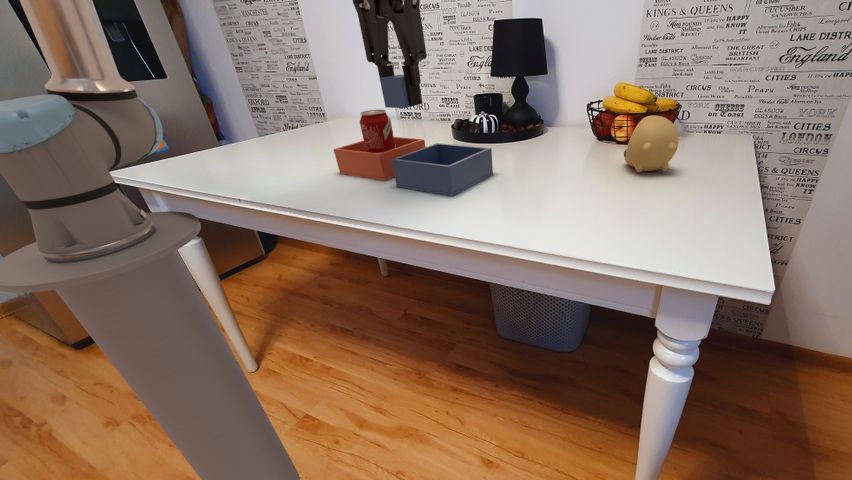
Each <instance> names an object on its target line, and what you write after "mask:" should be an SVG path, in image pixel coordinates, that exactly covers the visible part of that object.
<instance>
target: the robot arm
mask: <svg viewBox="0 0 852 480" xmlns="http://www.w3.org/2000/svg"><path fill="white" fill-rule="evenodd" d="M19 2H20V4H21V7H22V9H23V11H24V13H25V16H26V18H27V20H28V23H29V25H30V27H31V29H32V32H33V35H34V36H35V39H36V41H37V43H38V45H39V48H40V51H41V53H42V55H43V57H44V59H45V61H46V64H47V66H48V68H49V71H50V73H51V76H50V78H49V79H48V81H47V82H46V83H45V84H44V88H45V91H46V92H47V94H38V95H30V96H23V97H17V98H13V99H8V100H7V99H6V100H2V101H0V175H1V177H3V179H4V180H5V181H6V182H7V184H8V185H9V186H10V188H11V189H12V191H13V192H14V193H15V195H16V196H17V198H18V199H19V200H20V202H21V203H22V205H23V206H24V208H25V209H26V210H27V211H28V213H29V215H30V219H31V224H32V229H33V233H34V237H35V242H37V246H38V249H39V252H40V253H41V254H42V256H43V257H44V258H45V260H47V261H48V262H52V263H70V262H78V261H84V260H89V259H94V258H98V257H102V256H106V255H109V254H113V253H116V252H119V251H122V250H124V249H127V248H130V247H132V246H134V245H137V244H139V243H141V242H143V241H144V240H146V239H148V238H149V237H150V236H152V235H153V234H154V233H155V230H156V229H155V227H154V225H153V223H152V221H151V220H150V219H149V218H148V217H147V216H146V213H147V212H145V211H144V210H143V209H142V208H141V209H140V208H139V207H138V206H137V205H135V204H134V203H133V202H132V201H131V200H130V199H129V197H127V196H126V195H125V194H124V193H123V192H122V191H121V190H120V188H119V187H118V185H117V183H116V181H115V179H114V178H113V176H112V174H111V172H110V171H113V170H115V169H117V168H120V167H122V166H123V167H124V166H126V165H128V164H131V163H135V162H139V161H142V160H144V159H145V158H147V157H148V156H149V155H151V154H153V153H154V152H156V151H157V150H158V148H159V147H160V146H161V144H162V141H163V138H164V137H163V136H164V129H163V125H162V122H161V119H160V118H159V115H158V114H157V112H156V111H155V110H154V109H153V108H152V107H151V106H149V105H147V104H148V103H147V102H146V101H145V100H143V99H142V98H140V97H139V96H138V93H137V90H136V87H135V85H133V84H132V83H130V82H128V81H127V80H125V79H124V78H122V76H121V75H120V73H119V70H118V67H117V65H116V62H115V60H114V57H113V54H112V50H111V48H110V46H109V42H108V40H107V37H106V35H105V32H104V29H103V26H102V23H101V19H100V18H99V14H98V13H97V9H96V7H95V4H94V1H93V0H19ZM420 3H421V0H352V4H353V6H354V8H355V11H356V13H357V17H358V22H359V27H360V33H361V37H362V38H361V39H362V42H363V47H364V52H365V55H366V56H365V57H366V60H367V62H368V63H373V64H374V65H375V66H376V68H377V72H378V77H379V79H380V78H382V77H388V76H394V75H395V70H394V65H393V64H392V61H391V60H390V56H389V23H390V22H391V25H392V27H393V31H394V33H395V35H396V36H395V37H396V38H397V39H396V40H397V42H398V45H399V48H400V50H401V54H402V57H403V60H404V61H403V62H402V66H401V67H402V73H403V75H404V79H405V85H406V91H407V96H408V102H409V106H411V107H414V106H413V105H415V106H418V105H417V104H419V105H422V104H421V103H422V102H423V100H422V101H421V96H422V94H421V95H420V89H421V87H420V88H419V84H420V85H421V83H422V80H421V74H420V73H421V72H420V68H419V67H420V66H419V64H420V62H422V61H423V60H426V59H427V57H428V55H427V49H426V42H425V36H424V35H425V34H424V29H423V23H422V22H423V21H422V15H421V9H420V7H421V5H420Z"/></svg>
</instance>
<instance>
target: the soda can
mask: <svg viewBox="0 0 852 480" xmlns="http://www.w3.org/2000/svg"><path fill="white" fill-rule="evenodd" d="M359 125H360V131H361V134H362V138H363V140H364V144H365V148H366V152H370V153H378V154H380V153H383V152H386V151H388V150H391V149H394V148H396V146H395V141H394V137H395V136H394V131H393V126H392V125H393V124H392V119H391V117H390V116H389V115H388V114H387V110H386V109H369V110H363V111H361V112H360V119H359Z"/></svg>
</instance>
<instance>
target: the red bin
mask: <svg viewBox="0 0 852 480" xmlns="http://www.w3.org/2000/svg"><path fill="white" fill-rule="evenodd" d="M394 141H395V146H396V148H394V149H391V150H388V151H386V152H383V153H380V154H378V153H370V152H366V148H365V144H364V139H363V140H360V141H356V142H353V143H350V144H347V145H343V146H340V147H336V148H333V152H334V156H335V160H336V164H337V168H338V171H339V174H341V175H345V176H346V175H347V176H352V177H359V178H365V179H371V180H377V181H383V182H385V181H387V180H388V181H389V180H390V179H392V178H395V176H394V171H393V166H392V161H391V160H392V159H395V158H397V157H400V156H403V155H406V154H408V153H411V152H414V151H417V150H419V149H422V148H425V147H426V141H425V139H424V138H413V137H403V136H394Z"/></svg>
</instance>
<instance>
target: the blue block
mask: <svg viewBox="0 0 852 480" xmlns="http://www.w3.org/2000/svg"><path fill="white" fill-rule="evenodd" d="M379 82H380V87H381V93H382V97H383V103H384V107H385V108H386V109H387V108H389V109H393V108H394V109H408V108H411V107H414V106H420V105H422V104H423V102H424V101H423V97H422V90H421V83H420V84H419V88H420V95H421V101H422V103H421V104H417V105H413V106H409V102H408V96H407V91H406V85H405V79H404V74H394V76H388V77H382V78H380V77H379Z"/></svg>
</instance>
